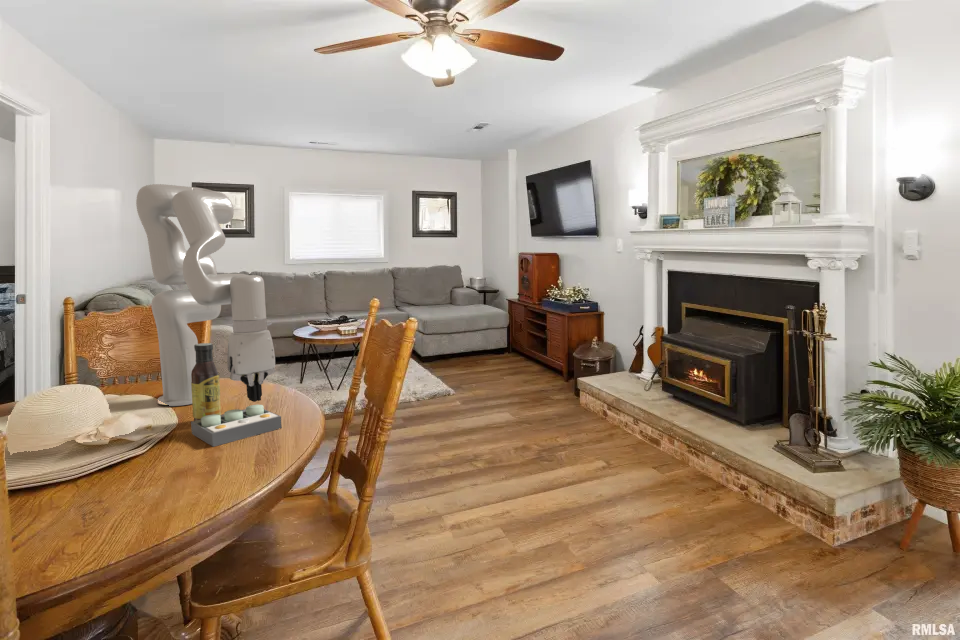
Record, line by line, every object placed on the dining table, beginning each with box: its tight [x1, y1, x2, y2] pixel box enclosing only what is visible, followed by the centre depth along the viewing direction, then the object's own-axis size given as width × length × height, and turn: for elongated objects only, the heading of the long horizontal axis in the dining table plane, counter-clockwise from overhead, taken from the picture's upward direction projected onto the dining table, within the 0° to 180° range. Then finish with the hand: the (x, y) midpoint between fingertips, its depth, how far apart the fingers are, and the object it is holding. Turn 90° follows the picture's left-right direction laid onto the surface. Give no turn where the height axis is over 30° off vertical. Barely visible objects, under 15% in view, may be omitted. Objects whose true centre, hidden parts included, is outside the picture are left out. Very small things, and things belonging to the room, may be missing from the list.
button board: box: [190, 408, 282, 447], centre depth 125 cm, size 12×16×3 cm
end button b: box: [245, 404, 265, 417], centre depth 130 cm, size 4×4×3 cm
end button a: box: [201, 414, 221, 428], centre depth 122 cm, size 4×4×3 cm
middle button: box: [223, 408, 243, 422], centre depth 126 cm, size 4×4×3 cm
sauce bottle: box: [191, 342, 222, 421], centre depth 131 cm, size 7×6×20 cm
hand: (254, 400), depth 130 cm, fingers closed
